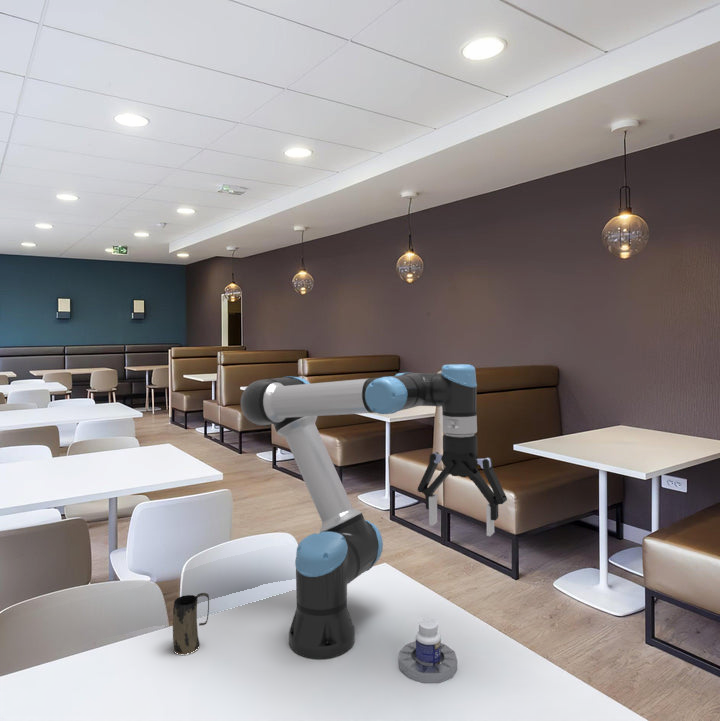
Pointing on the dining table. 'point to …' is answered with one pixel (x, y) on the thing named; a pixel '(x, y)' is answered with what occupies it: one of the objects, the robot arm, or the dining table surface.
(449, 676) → the hub
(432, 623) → the pill bottle
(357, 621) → the dining table surface
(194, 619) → the mug
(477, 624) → the dining table surface
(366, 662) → the dining table surface
